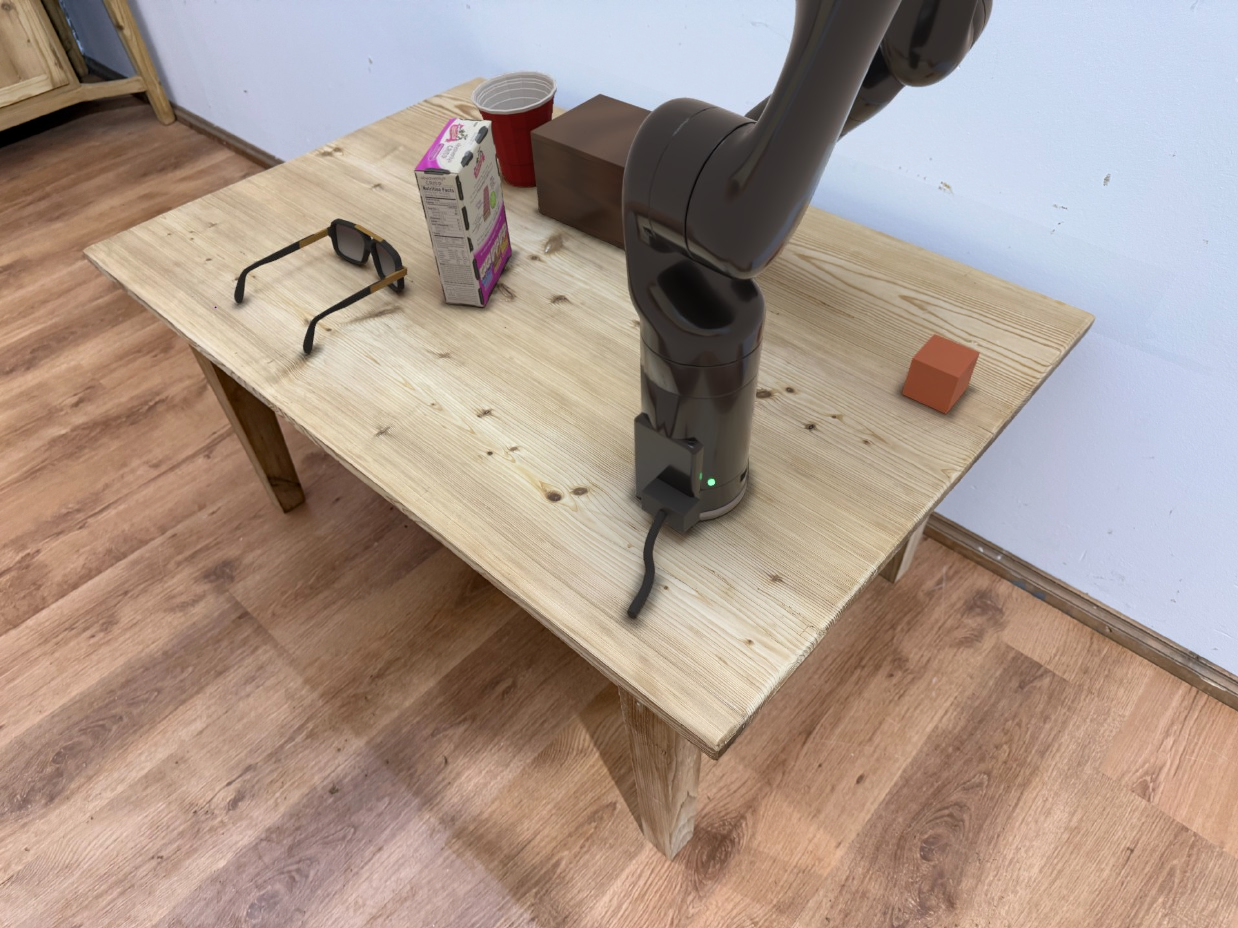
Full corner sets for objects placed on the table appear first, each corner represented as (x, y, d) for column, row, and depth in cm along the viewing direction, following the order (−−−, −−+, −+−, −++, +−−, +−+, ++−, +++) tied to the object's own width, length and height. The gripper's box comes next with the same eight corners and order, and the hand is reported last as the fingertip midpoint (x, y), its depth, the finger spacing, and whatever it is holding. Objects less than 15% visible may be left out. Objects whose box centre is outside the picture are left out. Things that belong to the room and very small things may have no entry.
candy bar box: (473, 249, 102) (449, 116, 90) (513, 253, 101) (494, 119, 89) (441, 305, 95) (411, 167, 83) (484, 309, 94) (459, 171, 82)
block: (946, 414, 81) (959, 378, 77) (901, 394, 83) (912, 358, 79) (966, 388, 83) (980, 352, 80) (923, 369, 85) (934, 333, 82)
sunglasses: (236, 304, 96) (220, 266, 92) (348, 246, 103) (336, 209, 100) (306, 356, 89) (291, 317, 86) (420, 290, 97) (411, 252, 93)
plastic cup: (477, 165, 116) (462, 76, 107) (553, 151, 118) (545, 63, 109) (492, 204, 109) (478, 112, 100) (574, 189, 111) (567, 98, 102)
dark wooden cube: (691, 206, 107) (694, 125, 99) (628, 251, 101) (626, 168, 93) (603, 172, 114) (599, 93, 106) (539, 212, 107) (530, 131, 100)
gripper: (814, 64, 86) (716, 140, 100) (734, 117, 79) (640, 191, 93) (852, 129, 88) (750, 195, 101) (777, 186, 81) (678, 249, 94)
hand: (698, 193), depth 97 cm, fingers open, 8 cm apart
